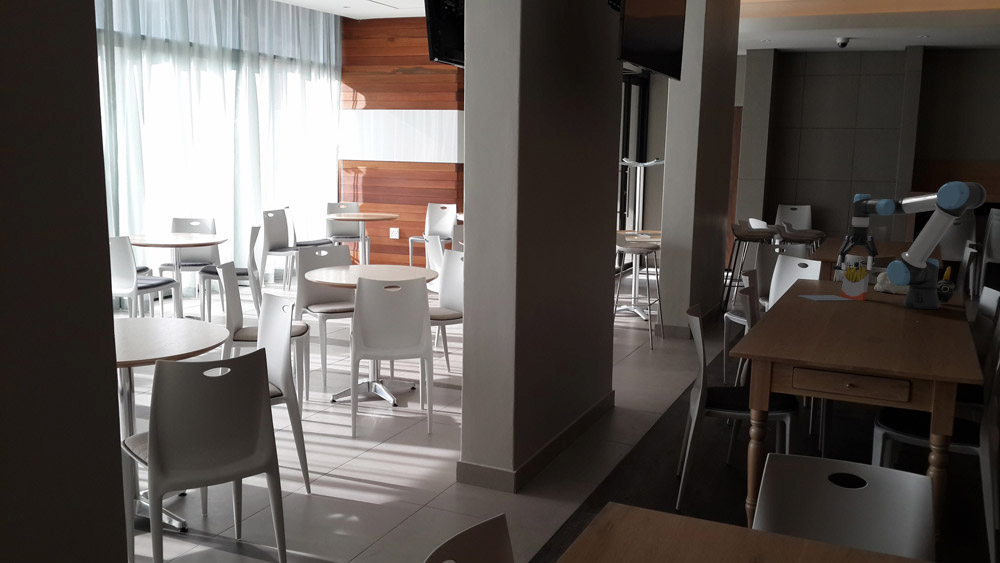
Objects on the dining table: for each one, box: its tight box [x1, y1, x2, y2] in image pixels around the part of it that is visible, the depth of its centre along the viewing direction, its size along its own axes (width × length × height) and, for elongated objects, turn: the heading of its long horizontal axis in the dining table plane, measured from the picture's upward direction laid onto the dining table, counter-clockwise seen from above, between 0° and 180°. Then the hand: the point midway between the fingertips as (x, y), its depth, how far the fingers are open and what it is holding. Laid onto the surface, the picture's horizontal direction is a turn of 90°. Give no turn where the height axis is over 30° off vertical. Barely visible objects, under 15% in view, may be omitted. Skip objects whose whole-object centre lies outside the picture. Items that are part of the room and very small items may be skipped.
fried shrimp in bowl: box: [937, 266, 956, 304], centre depth 398 cm, size 9×11×18 cm
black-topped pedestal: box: [832, 260, 864, 282], centre depth 462 cm, size 28×26×13 cm
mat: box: [797, 294, 854, 302], centre depth 405 cm, size 16×20×1 cm
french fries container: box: [840, 266, 870, 301], centre depth 405 cm, size 5×11×18 cm, turn 44°
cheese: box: [873, 271, 909, 295], centre depth 428 cm, size 15×7×15 cm
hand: (856, 269), depth 407 cm, fingers open, 13 cm apart
